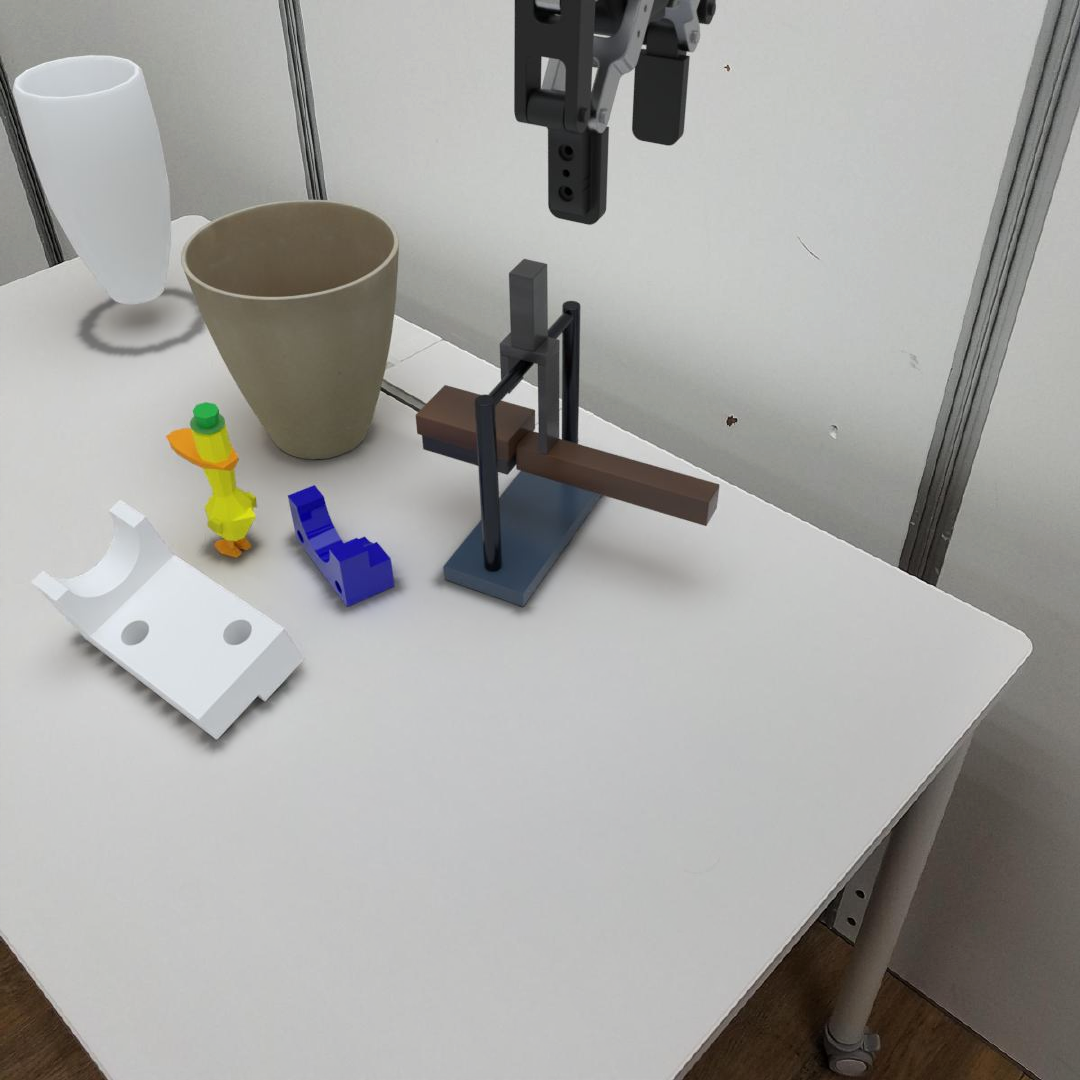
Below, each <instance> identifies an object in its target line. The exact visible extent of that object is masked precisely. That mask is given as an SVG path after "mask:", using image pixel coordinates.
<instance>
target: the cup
mask: <svg viewBox="0 0 1080 1080" xmlns="http://www.w3.org/2000/svg"><path fill="white" fill-rule="evenodd" d="M12 94H13V98H14V100H15V105H16V107H17V111H18V115H19V119H20V122H21V126H22V130H23V133H24V136H25V140H26V143H27V148H28V150H29V153H30V157H31V160H32V162H33V165H34V167H35V171H36V172H37V176H38V178H39V181H40V183H41V186H42V189H43V191H44V193H45V196H46V199H47V201H48V205H49V207H50V209H51V211H52V213H53V214H54V216H55V218H56V220H57V221H58V223H59V225H60V226H61V229H62V230H63V232H64V234H65V236H66V237H67V239H68V241H69V243H70V244H71V246H72V248H73V250H74V252H75V253H76V255H77V256H78V257H79V259H80V260H81V262H82V264H84V266H85V267H86V269H87V270H88V271H89V272H90V274H91V275H92V277H93V278H94V280H95V281H96V282H97V283H98V284H99V285H100V287H102V289H103V291H105V292H106V293H107V294H108V295H109V297H111V299H112V300H113V301H114V302H116V303H119V304H121V305H138V304H144V303H147V302H150V301H153V300H155V299H156V298H158V297H159V296H161V295H162V293H163V292H164V291H165V289H166V283H167V280H168V279H167V278H168V274H169V267H170V258H171V246H172V221H171V219H172V218H171V217H172V216H171V194H170V193H171V190H170V181H169V176H168V171H167V166H166V161H165V154H164V150H163V145H162V139H161V135H160V129H159V125H158V122H157V118H156V115H155V111H154V108H153V104H152V99H151V97H150V93H149V90H148V87H147V82H146V79H145V76H144V73H143V69H142V68H141V67H140V65H138V64H137V63H135V62H134V61H132V60H130V59H129V58H123V57H119V56H115V55H98V54H97V55H95V54H90V55H79V56H68V57H64V58H58V59H55V60H51V61H46V62H42V63H40V64H38V65H36V66H33V67H31V68H28V69H26V70H24V71H23V72H22V73H20V74H19V75H17V76H16V77H15V79H14V81H13V87H12Z"/></svg>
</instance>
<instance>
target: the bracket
mask: <svg viewBox="0 0 1080 1080" xmlns="http://www.w3.org/2000/svg"><path fill="white" fill-rule="evenodd" d="M108 512H109V514H110V515H111V517H112V521H113V537H112V540H111V543H110V545H109V548H108V549H107V551H106V553H105V554H104V556H103V557H102V558H101V559H100V560H99V562H98V563H96V564H95V565H94V566H93V567H92V568H90V569H89V570H87V571H86V572H84V573H82V574H80V575H77V576H73V577H70V578H59V577H54V576H51V575H49V574H48V573H47V572H46V571H45V570H41V572H40V573H38V574H37V575H36V576H35V577H34V578H33V579H32V580H30V583H31V584H32V586H34V587H35V588H36V589H37V590H38V591H39V593H40V594H41V595H43V596H44V598H45V599H46V600H47V601H49V603H50V604H51V605H52V606H53V607H54V608H55V609H56V610H57V611H58V612H59V613H60V614H61V615H62V616H63V617H64V618H65V619H66V620H67V622H69V624H70V625H71V626H73V628H74V629H75V630H76V631H77V632H78V633H79V634H80V635H81V637H83V638H84V639H85V640H86V641H87V642H89V643H90V644H92V645H93V647H95V648H97V649H98V650H99V651H101V652H102V653H103V654H105V655H106V656H107V657H108V658H110V659H111V661H113V662H115V663H116V664H117V665H118V666H120V667H121V668H123V669H124V670H125V671H126V672H127V673H129V674H130V675H132V676H133V677H134V678H136V679H137V680H138V681H139V682H141V683H142V684H144V685H145V686H146V687H147V688H148V689H150V690H151V691H152V692H154V693H155V694H156V695H158V696H159V697H160V698H161V699H163V700H164V701H166V702H167V703H168V704H169V705H170V706H172V707H173V708H174V709H176V710H177V711H178V712H180V713H181V714H182V715H184V716H185V717H186V718H188V719H189V720H190V721H191V722H193V723H194V724H195V725H196V726H198V727H199V728H201V729H202V730H203V731H204V732H205V733H206V734H208V735H209V736H211V737H212V738H213V739H215V740H217V741H218V740H219V738H220V737H221V736H222V735H223V734H224V733H225V732H226V731H227V730H228V728H230V726H232V724H233V723H234V722H235V721H236V720H237V719H238V718H239V717H240V716H241V714H243V712H244V711H245V710H247V708H248V707H249V706H250V705H251V704H252V703H253V702H254V701H255V699H256V698H257V697H258V698H259V699H260V700H262V701H263V702H267V700H268V699H269V698H270V697H271V696H272V695H273V694H274V693H275V691H276V690H277V689H278V688H280V686H281V685H282V684H283V683H284V681H286V680H287V678H288V677H290V675H291V674H292V673H293V672H294V671H295V670H296V669H297V667H299V666H300V664H301V663H302V662H303V661H304V660H305V659H306V657H305V656H304V655H303V653H302V652H301V650H300V649H299V647H298V645H297V644H296V643H295V641H294V640H293V639H292V637H291V636H290V634H289V632H288V631H287V629H286V628H285V627H284V626H282V625H281V624H279V623H278V622H276V621H274V620H273V619H271V618H270V617H269V616H267V615H265V614H264V613H263V612H261V611H260V610H258V609H256V608H255V607H254V606H252V605H251V604H249V603H248V602H246V601H244V600H243V599H242V598H240V597H238V596H237V595H236V594H234V593H233V592H231V591H229V590H228V589H227V588H225V587H223V586H222V585H220V584H219V583H218V582H216V581H215V580H213V579H211V578H210V577H209V576H207V575H206V574H204V573H203V572H201V571H199V570H198V569H197V568H195V567H194V566H193V565H191V564H189V563H188V562H186V561H185V560H183V559H181V558H180V556H177V555H176V554H175V553H174V552H173V551H172V550H171V548H170V547H169V546H168V544H167V543H166V542H165V540H164V539H163V537H162V536H161V535H160V533H159V532H158V530H157V529H156V528H155V526H154V525H153V524H152V522H151V521H150V520H149V519H148V518H147V516H146V515H144V514H143V513H141V512H139V511H138V510H137V509H135V508H133V507H132V506H130V505H129V504H127V503H125V502H124V501H123V500H121V499H119V500H118V501H117V502H116V503H114V504H113V505H112V507H110V508H109V509H108Z"/></svg>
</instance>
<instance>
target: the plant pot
mask: <svg viewBox="0 0 1080 1080" xmlns="http://www.w3.org/2000/svg"><path fill="white" fill-rule="evenodd" d="M399 251H400V237H399V233H398V231H397V229H396V227H395V225H393V224H392V223H391V222H390V221H389V220H388V219H387V218H386V217H384V216H383V215H381V214H380V213H377V212H376V211H373V210H372V209H369V208H367V207H364V206H361V205H357V204H353V203H349V202H343V201H337V200H327V199H290V200H281V201H272V202H268V203H261V204H257V205H253V206H248V207H244V208H241V209H238V210H236V211H235V210H234V211H233V212H229V213H227V214H225V215H222V216H220V217H217V218H215V219H214V220H211V221H210V222H208V223H206V224H205V225H203V226H201V227H200V228H198V229H197V230H196V231H195V232H194V233H193V234H192V235H191V236H190V237H189V238H188V239H187V240H186V242H185V243H184V245H183V246H182V250H181V252H180V263H181V266H182V269H183V272H184V274H185V277H186V280H187V282H188V285H189V287H190V289H191V292H192V295H193V297H194V299H195V302H196V304H197V307H198V309H199V312H200V314H201V316H202V318H203V321H204V323H205V326H206V328H207V330H208V332H209V334H210V337H211V338H212V341H213V343H214V345H215V347H216V349H217V351H218V353H219V356H221V358H222V361H223V362H224V364H225V366H226V368H227V370H228V372H229V374H230V375H231V377H232V379H233V381H234V382H235V384H236V386H237V388H238V390H239V391H240V392H241V394H242V396H243V397H244V400H245V401H246V402H247V404H248V405H249V407H250V408H251V410H252V412H253V414H254V415H255V417H256V418H257V419H258V421H259V422H260V424H261V425H262V427H263V429H264V430H265V431H266V432H267V434H268V436H270V439H272V441H273V442H274V443H275V445H276V446H277V447H278V448H279V449H281V451H282V452H284V453H286V454H287V455H290V456H292V457H296V458H299V459H305V460H322V459H324V460H325V459H331V458H334V457H338V456H341V455H343V454H347V453H348V452H350V451H352V450H354V449H355V448H356V447H358V446H359V445H360V444H361V443H362V442H363V441H364V440H365V439H366V437H367V435H368V432H369V430H370V427H371V425H372V424H371V423H372V420H373V417H374V414H375V411H376V408H377V404H378V400H379V397H380V393H381V389H382V386H383V381H384V376H385V373H386V368H387V364H388V363H387V362H388V357H389V353H390V348H391V347H390V346H391V342H392V334H393V327H394V319H395V311H396V303H397V288H398V275H399V273H398V272H399Z"/></svg>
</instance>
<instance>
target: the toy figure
mask: <svg viewBox="0 0 1080 1080" xmlns="http://www.w3.org/2000/svg"><path fill="white" fill-rule="evenodd" d="M192 414H193V417H192V418H191V419H190V421H189V426H190V428H189V427H187V428H180V429H179V428H178V429H174V430H172V431H171V432H170V433H168V434H167V435H165V438H166V439H167V441H168V443H169V446H170V449H172V450H173V452H174V453H175V454H177V455H178V456H179V457H181V458H182V459H184V460H185V461H187V462H189V463H191V464H192V465H195V466H197V467H199V468H201V469H202V471H203V473H204V474H205V478H206V479H207V481H208V484H209V486H210V488H211V490H212V493H211V495H210V497H209V498H208V501H207V502H206V504H205V505H204V510H205V514H206V517H207V523H206V526H207V527H208V528H209V529H210V530H211V531H212V532H214V533H215V534H216V535H217V536H219V537H220V538H222V539H217V540H216V541H215V543H214V544H213V545H214V547H215V549H216V550H217V551H218V552H219V554H222V555H224V556H228V557H232V558H235V559H238V558H239V557H240V556H241V555H242V554H243V553H242V551H243V550H244V551H248V550H249V549H251V548H252V544H251V543H250V541H249V540H248V539H247V538H246V535H247V534H248V532H249V531H250V529H251V527H252V525H253V523H254V521H255V519H256V517H257V515H256V513H255V511H254V509H255V508H258V507H257V505H258V504H257V496H256V495H254V494H253V493H252V492H250V491H249V490H248V491H246V492H245V490H242V489H241V488H239V487H238V486H237V483H236V471H235V468H236V466H237V464H238V462H239V460H240V457H239V455H238V454H237V452H236V450H235V449H234V447H233V445H232V443H231V439H230V436H229V432H228V429H227V425H226V419H225V417H224V416H223V415H222V414H221V413H220V408H219V406H217V404H216V403H214V402H213V403H212V402H206V401H205V402H202V403H199V404H196V405H195V406H194V407H193V409H192ZM241 550H242V551H241Z"/></svg>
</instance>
